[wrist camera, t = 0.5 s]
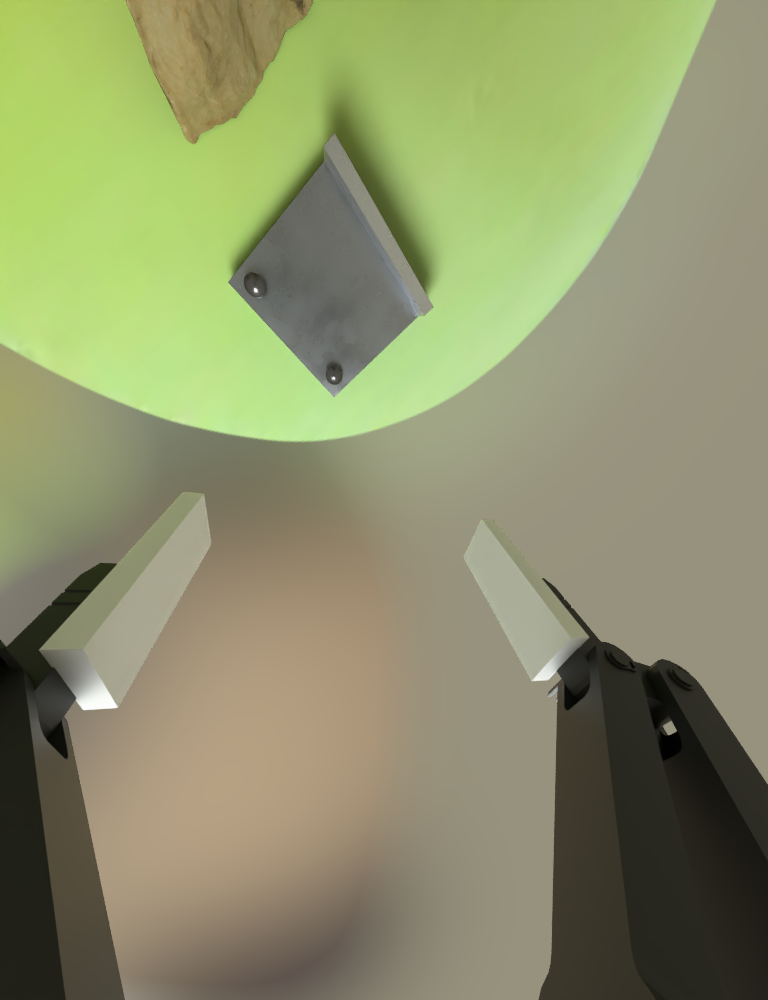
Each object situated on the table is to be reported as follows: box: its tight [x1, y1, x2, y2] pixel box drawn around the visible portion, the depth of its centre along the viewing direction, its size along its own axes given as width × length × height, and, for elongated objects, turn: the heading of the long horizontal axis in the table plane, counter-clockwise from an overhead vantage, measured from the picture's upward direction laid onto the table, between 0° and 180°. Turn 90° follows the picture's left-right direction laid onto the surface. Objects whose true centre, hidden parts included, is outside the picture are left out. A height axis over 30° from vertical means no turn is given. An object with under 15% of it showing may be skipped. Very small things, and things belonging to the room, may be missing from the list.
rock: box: [126, 0, 313, 144], centre depth 15 cm, size 11×9×10 cm
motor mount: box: [228, 133, 433, 397], centre depth 24 cm, size 12×12×4 cm
